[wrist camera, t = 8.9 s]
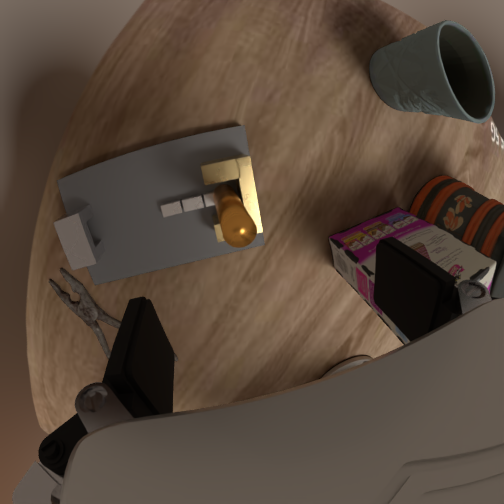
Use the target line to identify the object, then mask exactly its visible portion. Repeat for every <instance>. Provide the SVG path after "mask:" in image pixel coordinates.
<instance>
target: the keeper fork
mask: <svg viewBox="0 0 504 504" xmlns="http://www.w3.org/2000/svg"><path fill="white" fill-rule="evenodd" d="M201 170H202V174H203V179H204V184H205V185H209V184H214V183H218V182H223V181H227V180H232V179H235V180H236V186H237V191H238V196H239V199H240V200H241V202H242V204H243V205H244V207H245V208H246V210H247V211H248V213H249V214H250V216H251V217H252V219H253V221H254V222H255V224H256V227H257V233H261V232H263V231H262V224H261V218H260V212H259V206H258V200H257V194H256V189H255V183H254V177H253V171H252V165H251V159H250V156H248V155H245V154H241V155H236V156H231V157H226V158H221V159H216V160H212V161H207V162H203V163H201ZM212 218H213V223H214V228H215V232H216V236H217V241H218V242H222V241H225V240H224V238H223V234H222V230H221V226H220V222H219V219H218V215H217V214H215V215H212Z"/></svg>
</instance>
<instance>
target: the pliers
mask: <svg viewBox="0 0 504 504" xmlns="http://www.w3.org/2000/svg"><path fill="white" fill-rule="evenodd" d="M60 272H61V274H62V275H63V277H64V278H65V280H66V281H67V282H69V284H71V287H72V291H73V292H76V293H78V294H79V295H80V297H81V299H80V303H79V302H78V301H77V302H73V301H71V299H70V295H69V294H68V293H66V292H63V291H62V290H61V288H60V286H59V285H58V284H56V283H55V282H54V281H53V280H52V279H50V280H49V283H50V284H51V286H52V287H53V289H54V290H55V291H56V293H57V294H58V296H59V297H60V298H61V300H62V301H63V302H64V303H65V304H66V305H67V306H68V307H69V308H70V309H71V310H72V311H73V312H74V313H75V314H76V315H78V316H79V317H80V318H81V319H82V320H83V321H84V322H85V323H86V324H87V325H88V326H90V327H91V328H92V329H93V331H94V332H95V334H96V336H97V338H98V340H99V342H100V344H101V346H102V348H103V350H104V352H105V354H106V356H107V357H108V359H109V357H110V354H111V352H110V350H109V347H108V345H107V342H106V339H105V337H104V334H103V332H102V330H101V328H100V327H99V325H98V323H97V321H96V319H98V320H101V321H103V322H105V323H107V324H109V325H111V326H114V327H116V328H118V329H119V328H120V325H121V322H120V321H118V320H116V319H114V318H112V317H111V316H109V315H108V314H107V313H105V312H104V311H103V310H102V309H101V308H100V307H99V306H98V305H96V303H95V301H94V300H93V299H92V297H91V296H90V294H89V293H88V292H87V290H86V289H85V287H84V286H83V284H81V283H80V282H79V281H78V280H76V279H75V278H74V277H73V276H72V275H70V274H69V273H68V272H67V271H66V270H65V269H63V268H61V269H60ZM174 356H175V361H178V358H177V356H176V355H175V353H174Z"/></svg>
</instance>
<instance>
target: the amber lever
mask: <svg viewBox="0 0 504 504" xmlns="http://www.w3.org/2000/svg"><path fill="white" fill-rule="evenodd" d="M203 195H204V200H205V204H206V207H208V206H212V205H215V207H216V211H217V215H218V219H219V222H220V226H221V230H222V234H223V238H224V240H225V241H226V243H227V244H229V245H230V246H232V247H236V248H242V247H245V246H248V245H249V244H251V243H252V242H253V241H254V239H255V237H256V234H257V227H256V224H255V222H254V221H253V219H252V217H251V216H250V214H249V213H248V211H247V210H246V208H245V207H244V205H243V204H242V202H241V200H240V199H239V197H238V196H237V194H236V193H235V191H234V190H233V188H232V187H231V186H229V185H227V184H222V185H219V186H217V187H216V188H215V190H214V191H212V192H207V193H203ZM182 204H183V208H184V211H185V212H187V211H191V210H195V209H199V208H204V204H203V199H202V195H201V194H199V195H195V196H191V197H187V198H183V199H182ZM183 208H182V205H181V201H180V199H179V200H175V201H171V202H167V203H163V204H161V210H162V213H163V217H167V216H171V215H175V214H179V213H183Z"/></svg>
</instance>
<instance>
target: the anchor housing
mask: <svg viewBox="0 0 504 504" xmlns="http://www.w3.org/2000/svg"><path fill="white" fill-rule="evenodd" d="M92 217H93V213H92V210H91V206H90V205H87V206H84V207H81V208H79V209H76V210H73V211H71V212H68V213H66V214H64V215H63V216H62V217H60V218H59V219H58V220H56V221H55V222H54V226H55V228H56V231H57V234H58V237H59V239H60V242H61V244H62V247H63V249H64V252H65V254H66V257H67V259H68V261H69V264H70V266H71V268H72V270H76V269H79V268H83V267H87V266H90V265H94V264H97V263H98V261H99V260H100V258H101V257H102V255H103V254H104V252H105V251H106V250H105V247H104V244H103V242H102V240H100V241H96V242H93V240H92V237H91V234H90V231H89V229H88V226H87V223H86V222H87V221H88V220H89V219H91V218H92Z"/></svg>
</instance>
